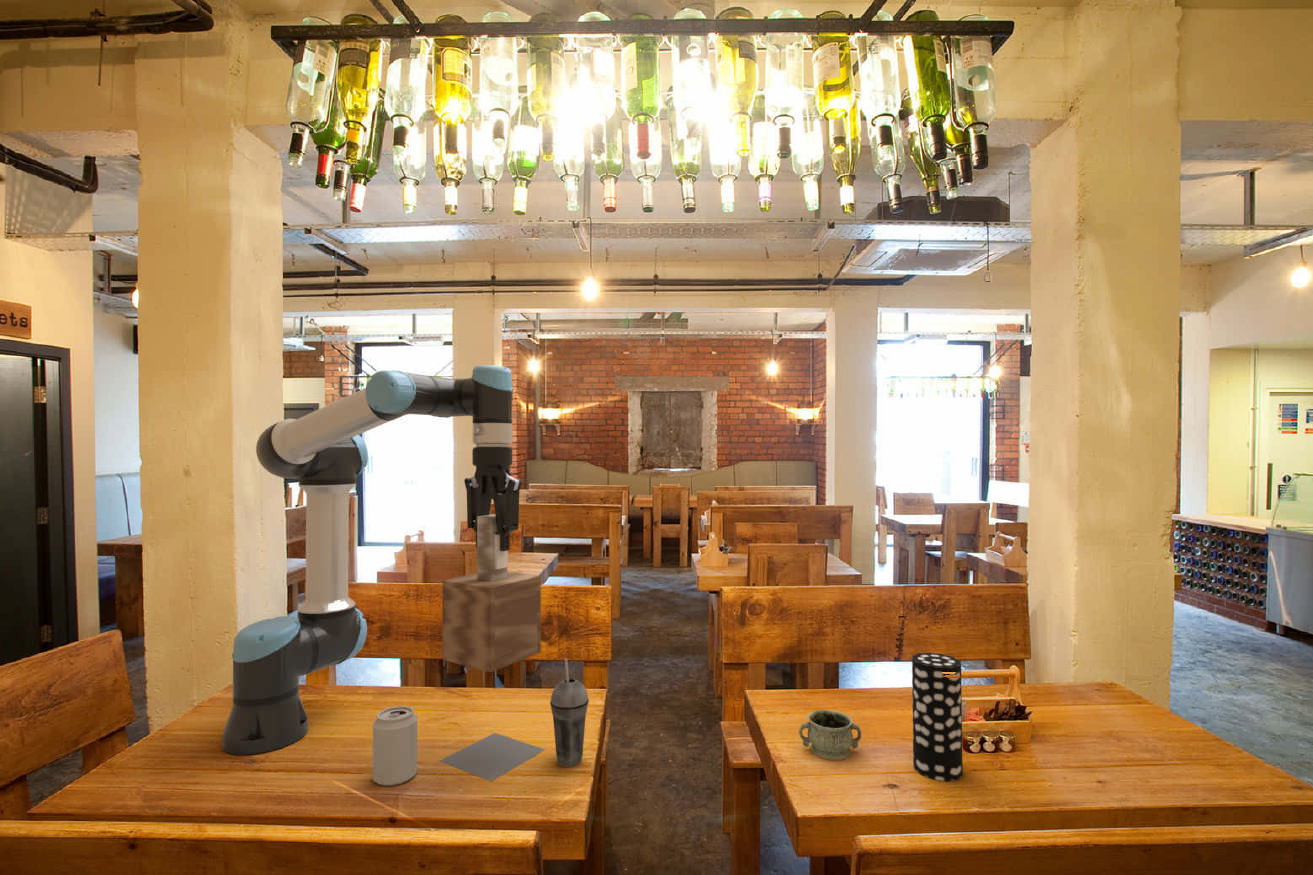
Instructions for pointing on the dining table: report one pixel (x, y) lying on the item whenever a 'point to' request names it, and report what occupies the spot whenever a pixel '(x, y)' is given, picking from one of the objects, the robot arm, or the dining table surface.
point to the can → (394, 746)
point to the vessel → (830, 734)
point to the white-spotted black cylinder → (937, 716)
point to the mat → (492, 756)
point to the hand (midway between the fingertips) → (492, 566)
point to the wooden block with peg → (491, 611)
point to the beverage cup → (569, 719)
